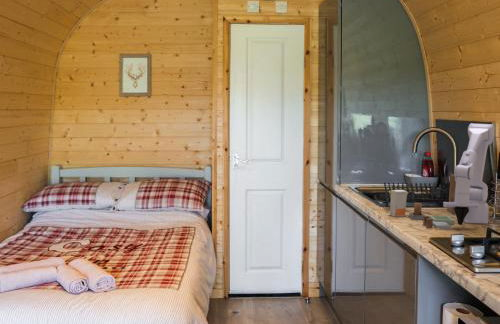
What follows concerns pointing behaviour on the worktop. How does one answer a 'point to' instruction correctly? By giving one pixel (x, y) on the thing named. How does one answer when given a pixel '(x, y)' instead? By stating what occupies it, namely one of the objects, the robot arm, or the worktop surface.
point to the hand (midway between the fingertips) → (460, 224)
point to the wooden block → (452, 192)
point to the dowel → (417, 208)
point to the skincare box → (398, 203)
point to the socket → (416, 216)
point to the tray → (442, 219)
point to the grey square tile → (441, 225)
